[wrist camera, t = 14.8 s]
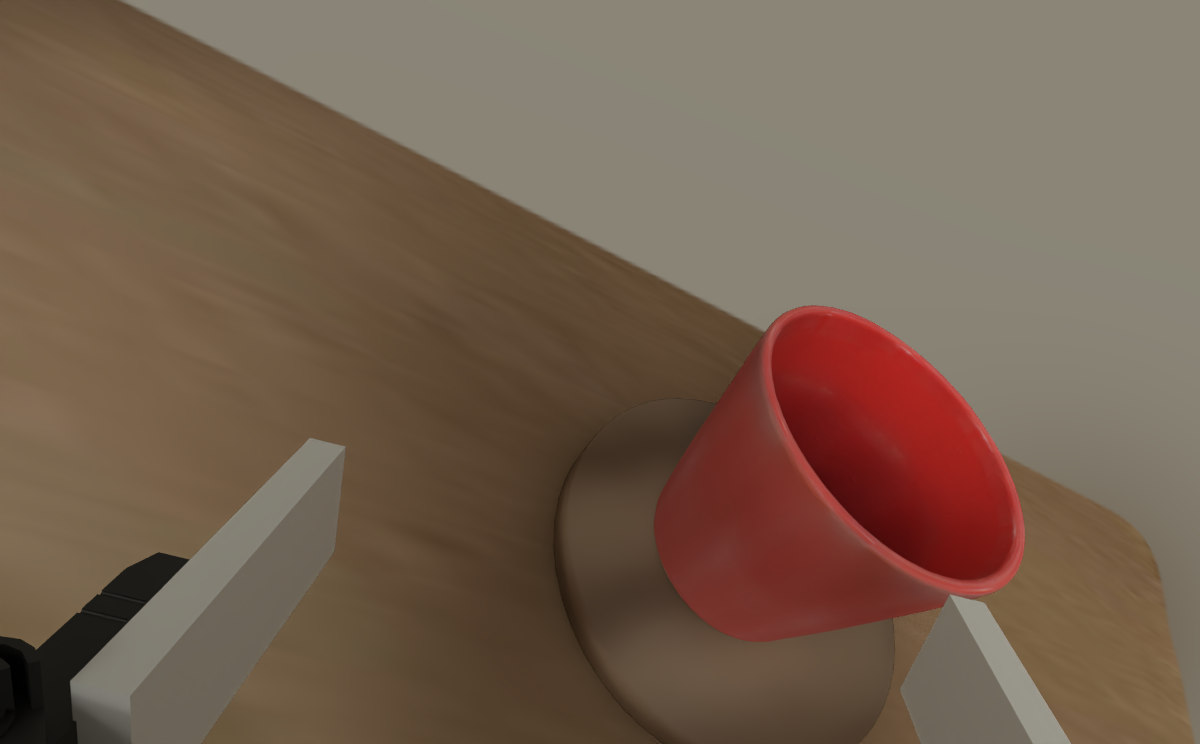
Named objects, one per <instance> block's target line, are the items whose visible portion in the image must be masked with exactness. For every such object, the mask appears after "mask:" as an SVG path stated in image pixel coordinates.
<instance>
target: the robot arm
mask: <svg viewBox="0 0 1200 744" xmlns="http://www.w3.org/2000/svg"><path fill="white" fill-rule="evenodd" d="M345 449H346V447H345V446H341V445H337V444H333V443H329V442H325V441H321V440H316V439H312V438H309V440H308V441H307V442H306V443H305V444H304V445H303V446H302V447H301V448H300V449H299V450H298V451H297V452H296V453H295V454H294V455H293V456H292V457H291V458H290V459H289V460H288V461H287V462H286V463H285V464H284V465H283V466H282V467H281V468H280V469H279V470H278V471H277V472H276V473H275V474H274V475H273V476H272V477H271V478H270V479H269V480H268V481H267V482H266V483H265V484H264V485H263V486H262V487H261V488H260V489H259V490H258V491H257V492H256V493H255V494H254V495H253V496H252V497H251V498H250V499H249V500H248V501H247V502H246V503H245V504H244V505H243V506H242V507H241V508H240V509H239V511H238V512H237V513H236V514H235V515H234V516H233V517H232V518H231V519H230V520H229V521H228V522H227V523H226V524H225V525H224V526H223V527H222V528H221V529H220V530H219V531H218V532H217V533H216V534H215V535H214V536H213V537H212V538H211V539H210V540H209V541H208V542H207V543H206V544H205V545H204V546H203V547H202V548H201V549H200V550H199V551H198V552H197V553H196V554H195V555H194V556H193V557H192V558H191V559H190V560H189V559H184V558H180V557H176V556H172V555H168V554H164V553H160V552H158V553H156V554H154V555H152V556H150V557H148V558H146V559H144V560H142V561H140V562H138V563H136V564H134V565H132V566H130V567H128V568H126V569H125V570H124V571H123V572H121V573H120V574H119V575H118V576H117V577H116V578H115V579H114V580H113V581H112V582H110V583H109V584H108V585H107V586H106V587H105V588H104V589H103V590H102V592H101V594H100V595H98V594H97V595H96V596H95V597H94V598H93V599H92V600H91V601H90V602H89V603H87V604H86V605H85V606H84V607H83V608H82V611H81V612H80V613H76V614H75V615H74V616H73V617H72V618H71V619H70V620H69V621H68V622H67V623H65V624H64V625H63V626H62V627H61V628H60V629H59V630H58V631H57V632H56V633H54V634H53V635H52V636H51V637H50V638H49V639H48V640H47V641H46V642H45V643H43V644H42V645H41V646H40V647H39V648H38V649H37V650H35V648H34V647H33V646H31V645H29V644H28V643H26V642H24V641H23V640H21V639H15V638H8V637H1V636H0V744H201V743H202V741H203V740H204V739H205V737H206V736H207V734H208V733H209V731H210V730H211V729H212V727H213V726H214V724H215V723H216V721H217V720H218V719H219V717H220V716H221V714H222V713H223V711H224V710H225V708H226V707H227V706H228V704H229V703H230V701H231V700H232V698H233V697H234V696H235V694H236V693H237V691H238V690H239V688H240V687H241V685H242V684H243V683H244V681H245V680H246V678H247V677H248V675H249V674H250V673H251V671H252V670H253V668H254V667H255V665H256V664H257V662H258V661H259V660H260V658H261V657H262V655H263V654H264V652H265V651H266V650H267V648H268V647H269V645H270V644H271V642H272V641H273V639H274V638H275V637H276V635H277V634H278V632H279V631H280V629H281V628H282V627H283V625H284V624H285V622H286V621H287V619H288V618H289V616H290V615H291V614H292V612H293V611H294V609H295V608H296V606H297V605H298V604H299V602H300V601H301V599H302V598H303V596H304V595H305V594H306V592H307V591H308V589H309V588H310V586H311V585H312V583H313V582H314V581H315V579H316V578H317V576H318V575H319V573H320V572H321V571H322V569H323V568H324V566H325V565H326V563H327V562H328V560H329V559H330V558H331V556H332V555H333V553H334V551H335V541H336V532H337V523H338V514H339V504H340V495H341V486H342V476H343V467H344V458H345ZM900 691H901V694H902V696H903V699H904V702H905V704H906V707H907V709H908V712H909V714H910V717H911V720H912V722H913V725H914V727H915V730H916V732H917V735H918V738H919V740H920V743H921V744H1071V743H1070V741H1069V739H1068V738H1067V736H1066V735H1065V733H1064V731H1063V730H1062V728H1061V726H1060V725H1059V723H1058V721H1057V720H1056V718H1055V717H1054V715H1053V713H1052V712H1051V710H1050V708H1049V707H1048V705H1047V704H1046V702H1045V700H1044V699H1043V697H1042V695H1041V694H1040V692H1039V691H1038V689H1037V687H1036V686H1035V684H1034V682H1033V681H1032V679H1031V678H1030V676H1029V674H1028V673H1027V671H1026V669H1025V668H1024V666H1023V665H1022V663H1021V661H1020V660H1019V658H1018V656H1017V655H1016V653H1015V652H1014V650H1013V648H1012V647H1011V645H1010V643H1009V642H1008V640H1007V639H1006V637H1005V635H1004V634H1003V632H1002V630H1001V629H1000V627H999V626H998V624H997V622H996V621H995V619H994V617H993V616H992V614H991V613H990V611H989V609H988V608H987V606H986V604H985V603H983V602H979V601H975V600H970V599H966V598H962V597H958V596H954V595H949V597H948V599H947V601H946V602H945V604H944V606H943V608H942V610H941V612H940V614H939V616H938V618H937V620H936V621H935V623H934V625H933V627H932V629H931V631H930V633H929V635H928V637H927V639H926V640H925V642H924V644H923V646H922V648H921V650H920V652H919V654H918V656H917V657H916V659H915V661H914V663H913V665H912V667H911V669H910V671H909V673H908V675H907V676H906V678H905V680H904V682H903V684H902V686H901V688H900Z"/></svg>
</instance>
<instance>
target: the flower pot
mask: <svg viewBox="0 0 1200 744" xmlns="http://www.w3.org/2000/svg"><path fill="white" fill-rule="evenodd" d="M654 533H655V540H656V545H657V549H658V553H659V556H660V560H661V562H662V565H663V567H664V570H665V572H666V574H667V576H668V578H669V579H670V581H671V583H672V584H673V586H674V588H675V589H676V591H677V592H678V594H679V595H680V596H681V598H682V599H683V600H684V601H685V602H686V604H687V605H688V606H689V607H690V608H691V609H692V610H693V611H694V612H695V613H696V614H697V615H698V616H699V617H700V618H701V619H703V620H704V621H705V622H706V623H708V624H709V625H711V626H712V627H714V628H715V629H717V630H718V631H720V632H722V633H724V634H727V635H729V636H731V637H734V638H737V639H740V640H744V641H751V642H770V641H775V640H780V639H786V638H793V637H799V636H805V635H811V634H817V633H823V632H828V631H834V630H839V629H844V628H849V627H854V626H858V625H863V624H868V623H873V622H877V621H882V620H886V619H891V618H896V617H900V616H905V615H909V614H914V613H918V612H923V611H927V610H932V609H936V608H940V607H943V606H944V604H945V602H946V601H947V599H948V597H949V595H954V596H958V597H962V598H966V599H970V600H972V599H975V598H979V597H982V596H985V595H989V594H991V593H994V592H996V591H998V590H1000V589H1001V588H1003V587H1004V586H1005V585H1006V584H1007V583H1008V582H1009V581H1010V580H1011V579H1012V578H1013V577H1014V575H1015V574H1016V573H1017V571H1018V568H1019V566H1020V564H1021V560H1022V558H1023V553H1024V545H1025V528H1024V520H1023V514H1022V509H1021V505H1020V501H1019V497H1018V494H1017V491H1016V488H1015V485H1014V482H1013V480H1012V478H1011V475H1010V472H1009V470H1008V468H1007V466H1006V464H1005V462H1004V459H1003V457H1002V455H1001V453H1000V452H999V450H998V448H997V446H996V444H995V443H994V441H993V439H992V438H991V436H990V435H989V433H988V432H987V430H986V428H985V427H984V425H983V424H982V422H981V421H980V419H979V418H978V416H977V415H976V414H975V412H974V411H973V410H972V408H971V407H970V406H969V405H968V403H967V402H966V401H965V399H964V398H963V397H962V396H961V395H960V393H959V392H958V391H957V390H956V389H955V388H954V387H953V386H952V385H951V384H950V383H949V382H948V381H947V380H946V378H945V377H944V376H943V375H941V374H940V373H939V372H938V371H937V370H936V369H935V368H934V367H933V366H932V365H931V364H930V363H929V362H928V361H926V360H925V359H924V358H923V357H922V356H921V355H919V354H918V353H917V352H916V351H915V350H913V349H912V348H911V347H909V346H908V345H907V344H905V343H904V342H903V341H901V340H900V339H899V338H897V337H896V336H894V335H893V334H891V333H890V332H888V331H886V330H884V329H883V328H881V327H880V326H878V325H876V324H875V323H873V322H871V321H869V320H867V319H865V318H863V317H860V316H858V315H856V314H853V313H851V312H848V311H844V310H840V309H837V308H833V307H825V306H803V307H798V308H795V309H793V310H790V311H787V312H786V313H784V314H782V315H781V316H780V317H778V318H777V319H776V320H775V321H774V322H773V323H772V324H771V325H770V326H769V328H768V329H767V330H766V332H765V333H764V335H763V336H762V337H761V339H760V340H759V342H758V343H757V345H756V346H755V347H754V349H753V350H752V352H751V353H750V355H749V356H748V358H747V359H746V361H745V362H744V364H743V365H742V367H741V368H740V370H739V372H738V373H737V375H736V376H735V378H734V379H733V381H732V382H731V384H730V385H729V387H728V388H727V390H726V391H725V392H724V394H723V395H722V397H721V398H720V400H719V401H718V403H717V404H716V406H715V407H714V409H713V410H712V412H711V413H710V415H709V416H708V418H707V419H706V421H705V422H704V424H703V425H702V426H701V428H700V429H699V431H698V433H697V434H696V436H695V437H694V439H693V440H692V442H691V443H690V445H689V446H688V448H687V450H686V451H685V453H684V454H683V456H682V458H681V459H680V461H679V462H678V464H677V466H676V467H675V469H674V471H673V472H672V474H671V476H670V478H669V479H668V481H667V483H666V484H665V486H664V488H663V490H662V492H661V494H660V496H659V498H658V502H657V506H656V512H655V519H654Z"/></svg>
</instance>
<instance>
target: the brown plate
mask: <svg viewBox="0 0 1200 744" xmlns="http://www.w3.org/2000/svg"><path fill="white" fill-rule="evenodd" d="M715 406H716V404H714V403H710V402H705V401H700V400H694V399H680V398H675V399H660V400H656V401H651V402H647V403H643V404H640V405H638V406H635V407H633V408H630V409H628V410H626V411H625V412H623V413H622V414H620V415H618V416H617V417H615V418H614V419H612V420H611V421H610V422H609V423H608V424H607V425H606V426H605V427H604V428H603V429H601V430H600V432H599V433H598V434H597V435H596V436H595V437H594V439H593V440H592V441H591V442H590V443H589V444H588V446H587V447H586V448H585V449H584V451H583V452H582V453H581V455H580V456H579V457H578V458H577V460H576V461H575V462H574V464H573V466H572V468H571V470H570V472H569V474H568V475H567V477H566V479H565V482H564V485H563V488H562V491H561V494H560V497H559V500H558V505H557V511H556V516H555V525H554V555H555V566H556V574H557V578H558V583H559V588H560V593H561V597H562V600H563V603H564V606H565V609H566V612H567V615H568V618H569V621H570V624H571V627H572V629H573V631H574V633H575V635H576V637H577V639H578V642H579V644H580V646H581V648H582V650H583V652H584V654H585V656H586V657H587V659H588V661H589V662H590V664H591V665H592V667H593V669H594V670H595V672H596V674H597V675H598V677H599V678H600V680H601V681H602V682H603V684H604V685H605V686H606V688H607V689H608V690H609V692H610V693H611V694H612V696H613V697H614V698H615V699H616V701H617V702H618V703H619V704H620V705H621V706H622V707H623V708H624V709H625V710H626V711H627V712H628V713H629V715H630V716H631V717H632V718H633V719H634V720H635V721H636V722H637V723H638V724H639V725H640V726H642V727H643V728H644V729H645V730H647V731H648V732H649V733H650V734H651V735H653V736H654V737H655V738H656V739H657V740H659V741H660V742H661V743H663V744H858V743H860V742H861V741H862V740H863V738H864V737H865V736H866V735H867V733H868V732H869V731H870V730H871V728H872V727H873V726H874V724H875V722H876V721H877V719H878V717H879V715H880V713H881V711H882V709H883V707H884V704H885V701H886V698H887V696H888V693H889V690H890V685H891V680H892V674H893V669H894V652H895V641H894V625H893V619H892V618H891V619H886V620H882V621H877V622H873V623H868V624H863V625H858V626H854V627H849V628H844V629H839V630H834V631H828V632H823V633H817V634H811V635H805V636H799V637H793V638H786V639H780V640H775V641H770V642H751V641H744V640H740V639H737V638H734V637H731V636H729V635H727V634H724V633H722V632H720V631H718V630H717V629H715V628H714V627H712V626H711V625H709V624H708V623H706V622H705V621H704V620H703V619H701V618H700V617H699V616H698V615H697V614H696V613H695V612H694V611H693V610H692V609H691V608H690V607H689V606H688V605H687V604H686V602H685V601H684V600H683V599H682V598H681V596H680V595H679V594H678V592H677V591H676V589H675V588H674V586H673V584H672V583H671V581H670V579H669V578H668V576H667V574H666V572H665V570H664V567H663V565H662V562H661V560H660V556H659V553H658V549H657V545H656V540H655V533H654V519H655V512H656V506H657V502H658V498H659V496H660V494H661V492H662V490H663V488H664V486H665V484H666V483H667V481H668V479H669V478H670V476H671V474H672V472H673V471H674V469H675V467H676V466H677V464H678V462H679V461H680V459H681V458H682V456H683V454H684V453H685V451H686V450H687V448H688V446H689V445H690V443H691V442H692V440H693V439H694V437H695V436H696V434H697V433H698V431H699V429H700V428H701V426H702V425H703V424H704V422H705V421H706V419H707V418H708V416H709V415H710V413H711V412H712V410H713V409H714V407H715Z"/></svg>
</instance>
